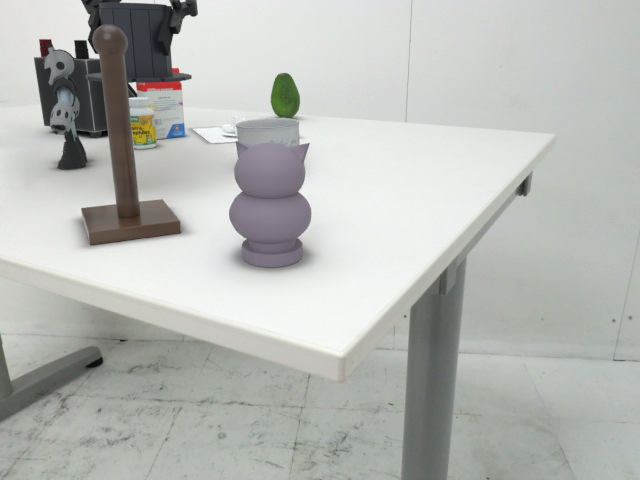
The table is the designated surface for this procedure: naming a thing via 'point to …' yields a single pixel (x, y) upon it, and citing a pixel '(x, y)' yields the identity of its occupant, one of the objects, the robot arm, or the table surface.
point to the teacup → (269, 131)
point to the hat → (140, 42)
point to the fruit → (285, 96)
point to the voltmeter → (87, 94)
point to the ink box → (165, 106)
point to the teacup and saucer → (232, 128)
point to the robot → (65, 106)
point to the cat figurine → (270, 203)
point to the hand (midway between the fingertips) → (128, 47)
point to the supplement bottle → (142, 123)
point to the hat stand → (122, 157)
